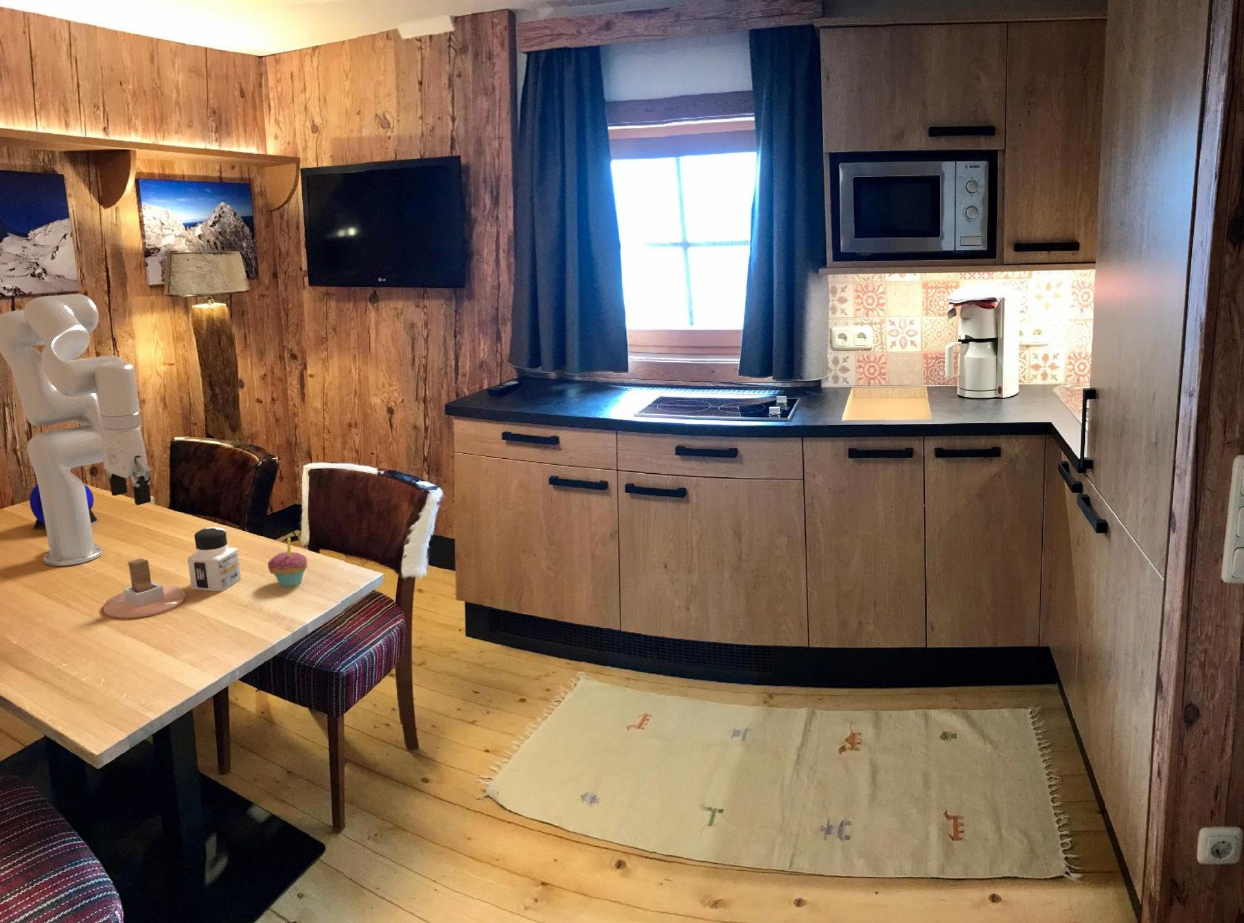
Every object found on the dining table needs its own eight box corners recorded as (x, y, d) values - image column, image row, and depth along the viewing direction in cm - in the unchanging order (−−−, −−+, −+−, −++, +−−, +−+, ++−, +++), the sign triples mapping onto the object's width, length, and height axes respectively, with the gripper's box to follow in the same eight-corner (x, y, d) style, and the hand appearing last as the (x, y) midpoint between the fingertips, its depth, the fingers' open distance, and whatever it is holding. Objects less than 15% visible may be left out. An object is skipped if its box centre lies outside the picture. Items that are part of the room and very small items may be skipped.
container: (222, 592, 218) (215, 536, 215) (190, 589, 220) (183, 534, 216) (241, 579, 226) (235, 525, 222) (211, 577, 227) (204, 523, 224)
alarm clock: (31, 530, 261) (21, 476, 257) (63, 515, 273) (54, 463, 269) (72, 532, 259) (63, 477, 255) (103, 517, 271) (95, 465, 267)
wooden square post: (134, 601, 212) (128, 561, 209) (146, 596, 214) (141, 557, 212) (141, 604, 210) (135, 564, 208) (153, 599, 212) (148, 560, 210)
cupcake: (316, 582, 223) (311, 532, 220) (281, 593, 217) (276, 542, 214) (297, 573, 229) (292, 524, 226) (262, 583, 223) (257, 533, 220)
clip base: (89, 606, 211) (86, 591, 210) (160, 583, 224) (158, 568, 223) (128, 624, 202) (126, 608, 201) (200, 599, 214) (198, 584, 213)
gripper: (82, 418, 208) (93, 495, 213) (124, 431, 199) (135, 511, 203) (118, 411, 214) (128, 486, 219) (160, 424, 204) (169, 502, 209)
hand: (131, 498), depth 211 cm, fingers open, 9 cm apart
